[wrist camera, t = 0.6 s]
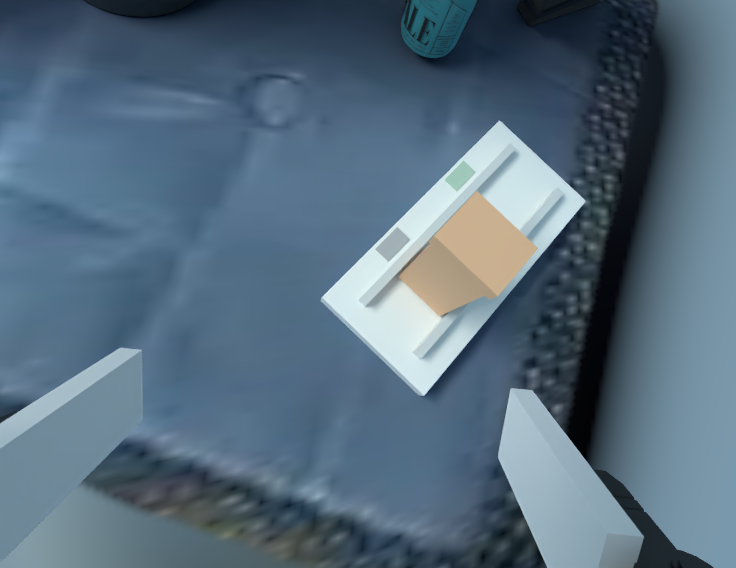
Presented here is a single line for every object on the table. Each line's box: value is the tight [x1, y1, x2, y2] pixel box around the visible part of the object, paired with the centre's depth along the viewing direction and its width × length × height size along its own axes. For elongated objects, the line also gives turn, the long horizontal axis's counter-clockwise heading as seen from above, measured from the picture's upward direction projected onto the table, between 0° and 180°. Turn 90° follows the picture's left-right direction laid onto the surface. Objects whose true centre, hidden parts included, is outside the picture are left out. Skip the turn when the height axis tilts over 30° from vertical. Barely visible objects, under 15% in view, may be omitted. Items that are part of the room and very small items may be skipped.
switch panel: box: [321, 120, 585, 396], centre depth 41 cm, size 26×12×2 cm, turn 137°
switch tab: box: [399, 191, 538, 316], centre depth 34 cm, size 5×6×11 cm
